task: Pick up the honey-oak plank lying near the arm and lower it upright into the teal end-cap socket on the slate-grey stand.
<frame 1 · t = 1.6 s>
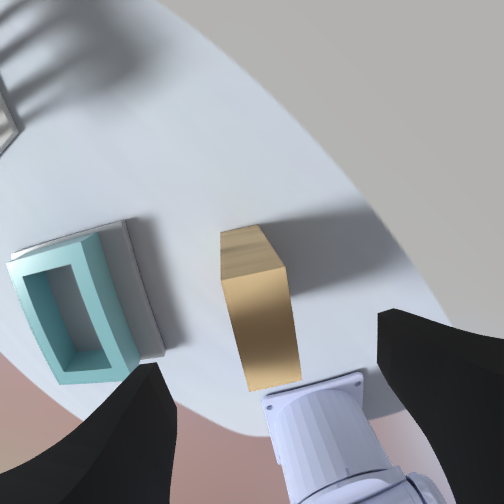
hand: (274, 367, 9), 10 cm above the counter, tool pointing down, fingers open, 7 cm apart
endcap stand: (85, 301, 18), on the counter
plank: (247, 268, 19), on the counter
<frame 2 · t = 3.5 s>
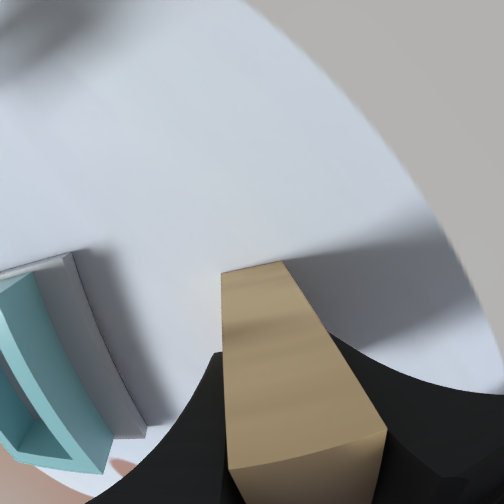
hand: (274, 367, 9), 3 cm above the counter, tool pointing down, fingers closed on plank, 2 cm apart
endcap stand: (34, 361, 11), on the counter
plank: (263, 327, 12), on the counter, touching gripper
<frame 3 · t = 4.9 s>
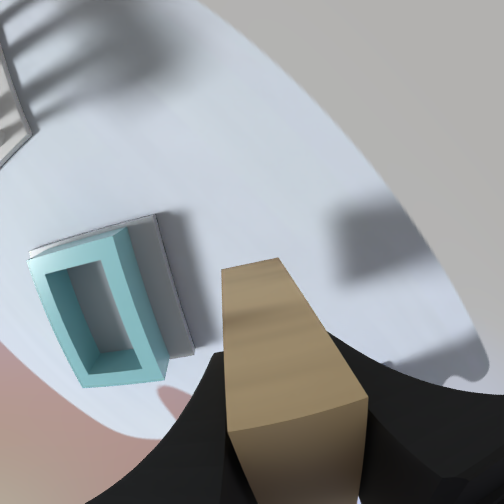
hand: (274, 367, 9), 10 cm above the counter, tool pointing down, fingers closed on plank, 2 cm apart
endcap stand: (109, 300, 18), on the counter
plank: (261, 320, 12), point 6 cm above the counter, touching gripper
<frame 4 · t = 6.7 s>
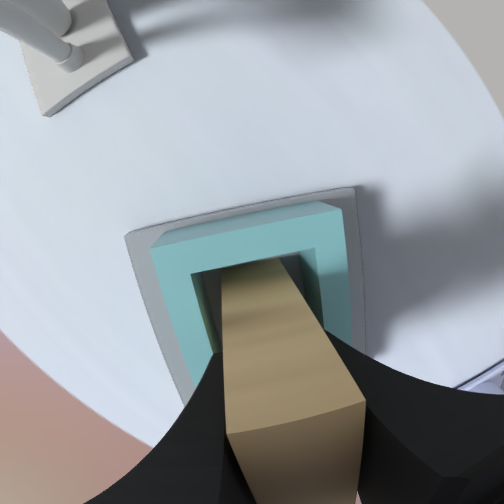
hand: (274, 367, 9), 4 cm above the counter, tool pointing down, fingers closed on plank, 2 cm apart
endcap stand: (259, 310, 13), on the counter
plank: (261, 320, 13), point 1 cm above the counter, touching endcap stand, gripper
when the fingers open (4 cm above the counter, at t = 7.4 s): plank stays where it is, resting on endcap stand.
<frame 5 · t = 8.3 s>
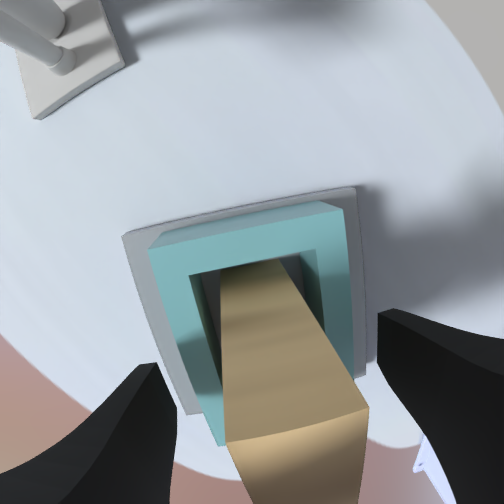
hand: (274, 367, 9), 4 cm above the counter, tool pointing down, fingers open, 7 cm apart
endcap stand: (259, 311, 13), on the counter
plank: (260, 322, 12), point 1 cm above the counter, touching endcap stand
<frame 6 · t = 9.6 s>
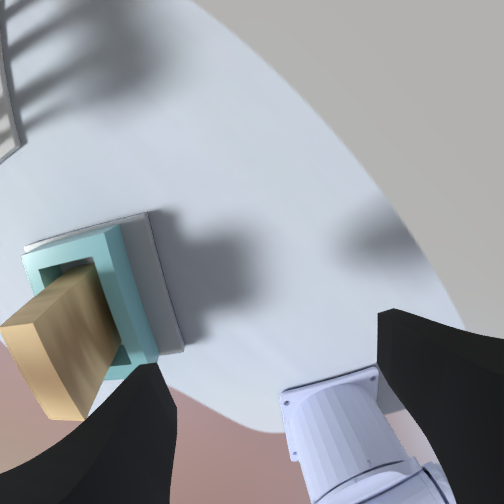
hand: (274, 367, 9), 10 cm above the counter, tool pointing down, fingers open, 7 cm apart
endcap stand: (101, 296, 18), on the counter
plank: (97, 302, 17), point 1 cm above the counter, touching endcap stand
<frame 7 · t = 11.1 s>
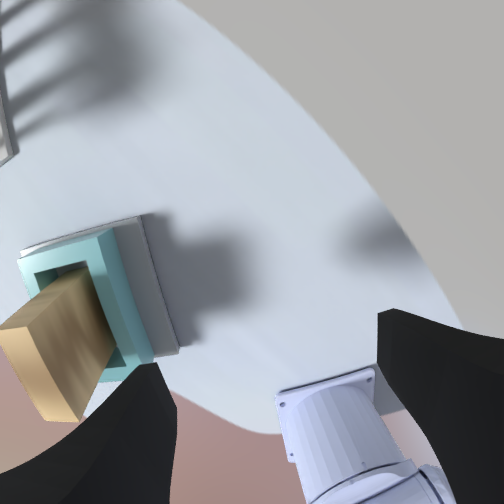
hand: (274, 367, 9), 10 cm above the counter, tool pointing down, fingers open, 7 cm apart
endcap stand: (97, 298, 18), on the counter
plank: (93, 305, 18), point 1 cm above the counter, touching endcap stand
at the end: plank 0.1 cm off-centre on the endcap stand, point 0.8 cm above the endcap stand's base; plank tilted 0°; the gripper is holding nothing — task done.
